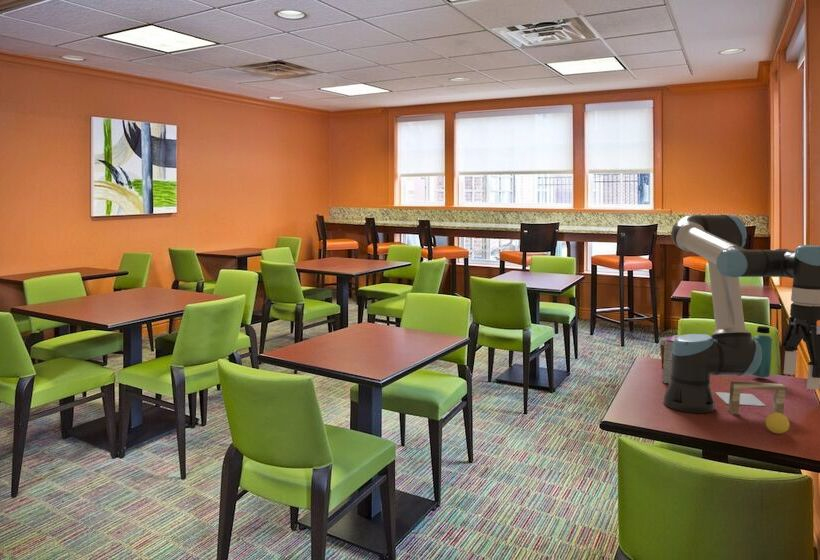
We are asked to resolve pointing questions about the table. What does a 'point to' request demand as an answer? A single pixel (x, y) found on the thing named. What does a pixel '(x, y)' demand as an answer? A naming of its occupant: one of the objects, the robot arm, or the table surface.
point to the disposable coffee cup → (662, 348)
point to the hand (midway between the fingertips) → (800, 381)
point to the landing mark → (741, 399)
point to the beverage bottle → (764, 352)
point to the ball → (777, 423)
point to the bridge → (778, 388)
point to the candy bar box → (668, 358)
